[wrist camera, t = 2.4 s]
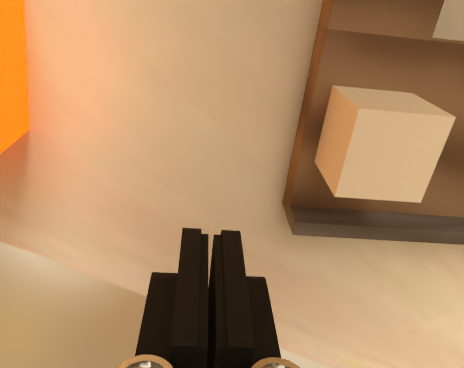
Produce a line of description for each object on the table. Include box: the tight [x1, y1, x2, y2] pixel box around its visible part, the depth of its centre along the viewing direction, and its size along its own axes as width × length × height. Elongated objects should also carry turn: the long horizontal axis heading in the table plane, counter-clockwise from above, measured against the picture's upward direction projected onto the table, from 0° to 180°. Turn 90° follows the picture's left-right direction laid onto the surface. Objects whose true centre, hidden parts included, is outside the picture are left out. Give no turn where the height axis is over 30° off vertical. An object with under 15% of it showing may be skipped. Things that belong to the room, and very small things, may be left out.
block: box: [314, 85, 456, 203], centre depth 21 cm, size 5×5×4 cm
